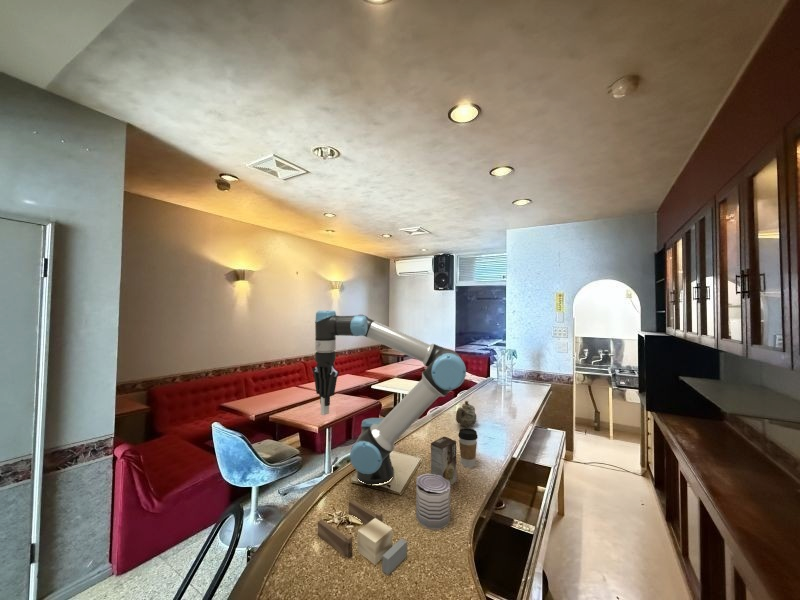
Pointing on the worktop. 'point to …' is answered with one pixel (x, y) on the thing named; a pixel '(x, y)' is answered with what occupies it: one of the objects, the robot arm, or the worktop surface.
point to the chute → (345, 542)
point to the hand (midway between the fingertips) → (325, 413)
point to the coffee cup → (467, 446)
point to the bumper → (394, 556)
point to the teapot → (466, 415)
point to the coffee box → (444, 459)
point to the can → (432, 501)
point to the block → (374, 540)
